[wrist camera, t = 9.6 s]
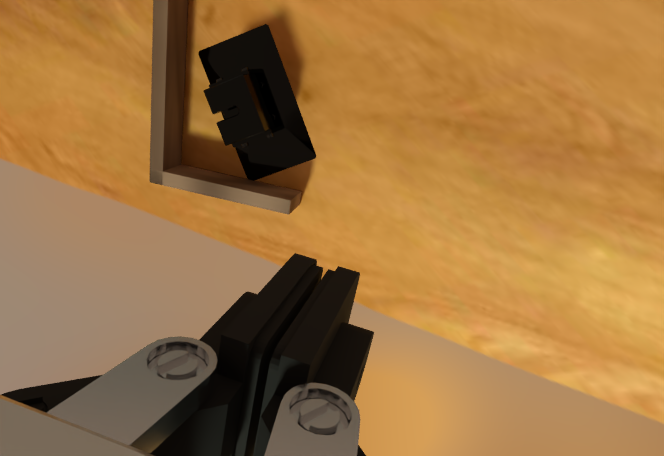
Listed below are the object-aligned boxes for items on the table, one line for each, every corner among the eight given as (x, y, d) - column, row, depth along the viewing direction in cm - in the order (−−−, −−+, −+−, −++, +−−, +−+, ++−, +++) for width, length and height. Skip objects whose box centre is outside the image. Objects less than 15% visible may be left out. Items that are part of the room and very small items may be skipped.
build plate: (184, 34, 34) (146, 30, 30) (276, -8, 32) (249, -19, 28) (250, 200, 37) (223, 217, 33) (339, 172, 35) (323, 187, 31)
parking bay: (338, -81, 29) (328, -92, 27) (299, 204, 36) (288, 214, 33) (178, -101, 31) (155, -113, 29) (168, 174, 37) (149, 182, 35)
